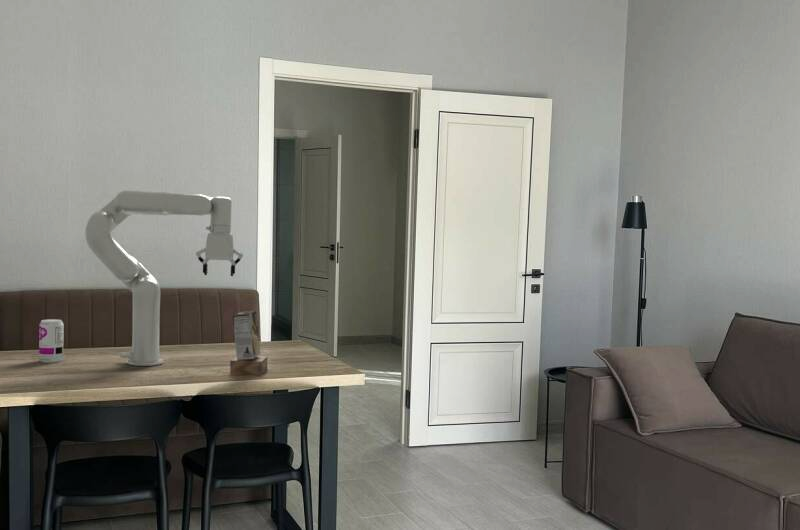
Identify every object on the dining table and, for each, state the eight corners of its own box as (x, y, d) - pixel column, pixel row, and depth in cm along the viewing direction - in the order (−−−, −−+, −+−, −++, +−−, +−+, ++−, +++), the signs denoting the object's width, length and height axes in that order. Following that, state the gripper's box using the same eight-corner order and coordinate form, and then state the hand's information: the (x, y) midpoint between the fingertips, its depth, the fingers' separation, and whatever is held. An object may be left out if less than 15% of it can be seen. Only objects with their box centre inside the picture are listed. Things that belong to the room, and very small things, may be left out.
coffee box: (243, 355, 295) (239, 311, 293) (260, 354, 294) (256, 310, 293) (236, 360, 286) (232, 315, 284) (254, 359, 285) (250, 313, 284)
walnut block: (230, 374, 285) (230, 360, 285) (237, 368, 296) (237, 355, 296) (261, 375, 285) (261, 361, 284) (267, 370, 296) (267, 356, 295)
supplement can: (42, 363, 292) (43, 322, 291) (36, 360, 298) (36, 319, 297) (66, 361, 297) (66, 321, 296) (59, 358, 303) (59, 318, 303)
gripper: (195, 229, 299) (194, 275, 300) (243, 231, 302) (241, 277, 302) (198, 228, 307) (196, 273, 308) (244, 230, 309) (242, 275, 310)
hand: (218, 275), depth 305 cm, fingers open, 9 cm apart
